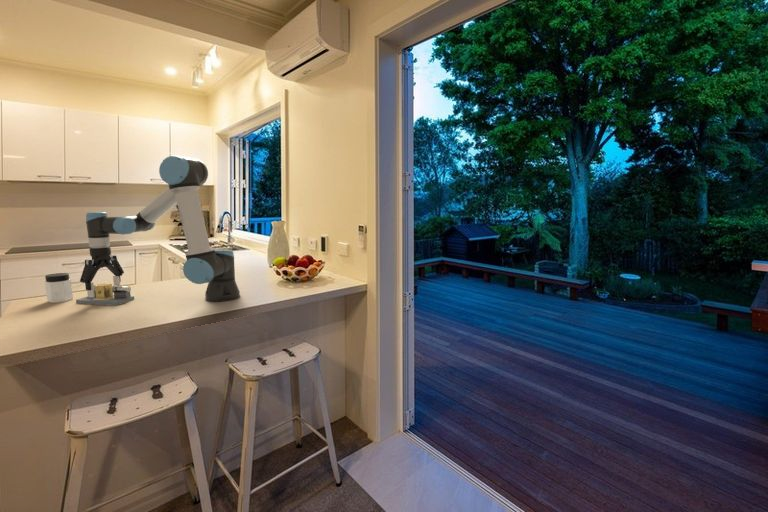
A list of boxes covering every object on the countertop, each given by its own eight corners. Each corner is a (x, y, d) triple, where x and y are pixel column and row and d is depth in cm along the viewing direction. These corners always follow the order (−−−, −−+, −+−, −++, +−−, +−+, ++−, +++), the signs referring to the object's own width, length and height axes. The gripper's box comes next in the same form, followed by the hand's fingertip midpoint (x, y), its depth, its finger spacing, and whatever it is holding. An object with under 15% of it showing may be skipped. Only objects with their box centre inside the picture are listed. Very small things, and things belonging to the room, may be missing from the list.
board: (134, 299, 173) (133, 295, 173) (116, 305, 163) (115, 301, 163) (96, 297, 176) (96, 293, 176) (76, 303, 166) (75, 299, 166)
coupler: (113, 296, 171) (112, 283, 170) (104, 299, 167) (103, 286, 166) (104, 296, 172) (103, 283, 171) (95, 298, 167) (94, 285, 166)
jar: (45, 304, 164) (42, 277, 162) (49, 299, 171) (45, 274, 169) (71, 301, 169) (68, 275, 167) (74, 297, 176) (71, 272, 174)
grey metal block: (132, 296, 172) (131, 284, 171) (128, 298, 169) (126, 286, 168) (117, 296, 172) (116, 284, 171) (112, 298, 168) (111, 286, 167)
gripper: (116, 243, 178) (120, 286, 182) (65, 250, 154) (71, 300, 157) (130, 243, 177) (134, 287, 181) (81, 251, 153) (87, 301, 156)
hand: (105, 293), depth 169 cm, fingers open, 13 cm apart
